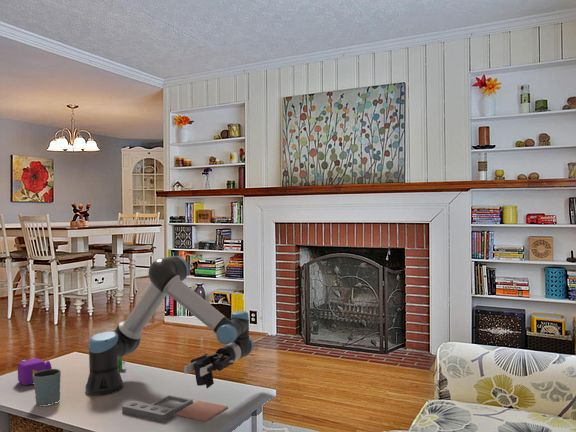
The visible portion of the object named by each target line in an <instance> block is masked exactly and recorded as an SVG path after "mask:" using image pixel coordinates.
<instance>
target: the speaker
mask: <svg viewBox="0 0 576 432" xmlns="http://www.w3.org/2000/svg"><path fill="white" fill-rule="evenodd" d="M208 356H209V357H207V358H206V359H204V360H201V361H197V362H195V363H194V369H195V370H194V375H195V382H196V385H197V387H198V386H200V387H202V386H206V389H209V388H210V387H212V386H213V385H214V384H215V381H214V376H213V375H214V374H213V371H211V372H209V373H207V374H205V375H203V376H200V368H202V367H205V366H207V365H209V364H211V363H210V355H208Z"/></svg>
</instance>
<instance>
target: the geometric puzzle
mask: <svg viewBox="0 0 576 432" xmlns="http://www.w3.org/2000/svg"><path fill="white" fill-rule="evenodd" d="M125 364H126V362H125V361H123V357H121V358H119V359H118V370H119V371H123V366H125Z"/></svg>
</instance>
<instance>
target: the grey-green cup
mask: <svg viewBox="0 0 576 432" xmlns="http://www.w3.org/2000/svg"><path fill="white" fill-rule="evenodd" d="M61 371H62V370H61V369H59V368H52V369H47V370H42V371H38V372H36V373H34V374H33V381H34V384H33V386H34V394H35V403H36V405H37V404H38V405H48V404H52V403H55V402H58V401H59V400H61V376H62V375H61V373H62V372H61ZM59 402H60V401H59ZM59 402H58V403H59Z"/></svg>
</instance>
